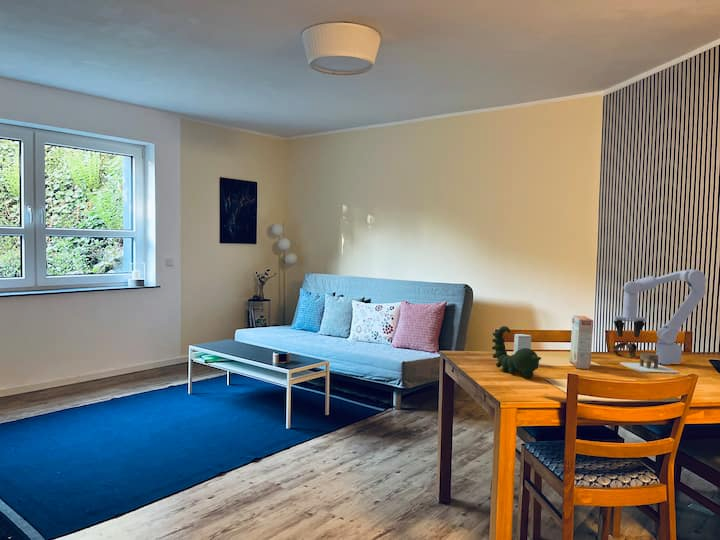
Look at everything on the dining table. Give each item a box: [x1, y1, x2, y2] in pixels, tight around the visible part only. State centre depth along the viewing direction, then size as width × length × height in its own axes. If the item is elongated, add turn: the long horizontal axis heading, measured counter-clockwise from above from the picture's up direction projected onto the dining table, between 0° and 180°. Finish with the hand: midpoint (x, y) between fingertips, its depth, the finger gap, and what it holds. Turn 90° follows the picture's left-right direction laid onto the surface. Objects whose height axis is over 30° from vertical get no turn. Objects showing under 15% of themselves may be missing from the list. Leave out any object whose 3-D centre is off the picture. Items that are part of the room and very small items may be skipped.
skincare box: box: [512, 333, 532, 355], centre depth 227 cm, size 6×4×12 cm
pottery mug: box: [612, 340, 638, 359], centre depth 250 cm, size 12×10×8 cm
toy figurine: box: [491, 325, 542, 379], centre depth 205 cm, size 9×19×25 cm
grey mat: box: [619, 362, 680, 374], centre depth 224 cm, size 16×16×1 cm
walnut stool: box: [639, 352, 659, 368], centre depth 224 cm, size 5×5×6 cm
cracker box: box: [569, 315, 594, 370], centre depth 224 cm, size 14×6×21 cm, turn 168°
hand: (628, 336), depth 241 cm, fingers open, 7 cm apart
